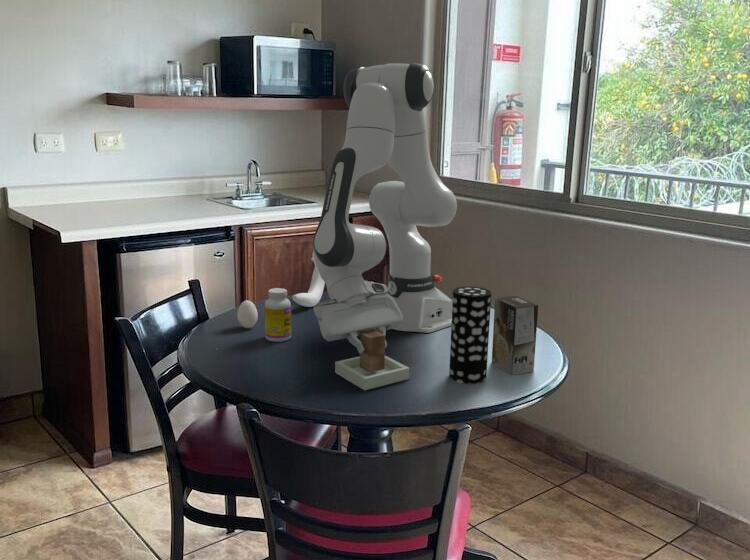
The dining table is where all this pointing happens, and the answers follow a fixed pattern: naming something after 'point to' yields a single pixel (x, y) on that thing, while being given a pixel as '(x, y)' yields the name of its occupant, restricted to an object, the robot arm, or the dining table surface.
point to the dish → (371, 373)
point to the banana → (311, 290)
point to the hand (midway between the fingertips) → (373, 349)
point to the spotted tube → (469, 334)
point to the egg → (247, 314)
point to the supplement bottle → (277, 316)
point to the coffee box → (514, 334)
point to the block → (373, 351)
